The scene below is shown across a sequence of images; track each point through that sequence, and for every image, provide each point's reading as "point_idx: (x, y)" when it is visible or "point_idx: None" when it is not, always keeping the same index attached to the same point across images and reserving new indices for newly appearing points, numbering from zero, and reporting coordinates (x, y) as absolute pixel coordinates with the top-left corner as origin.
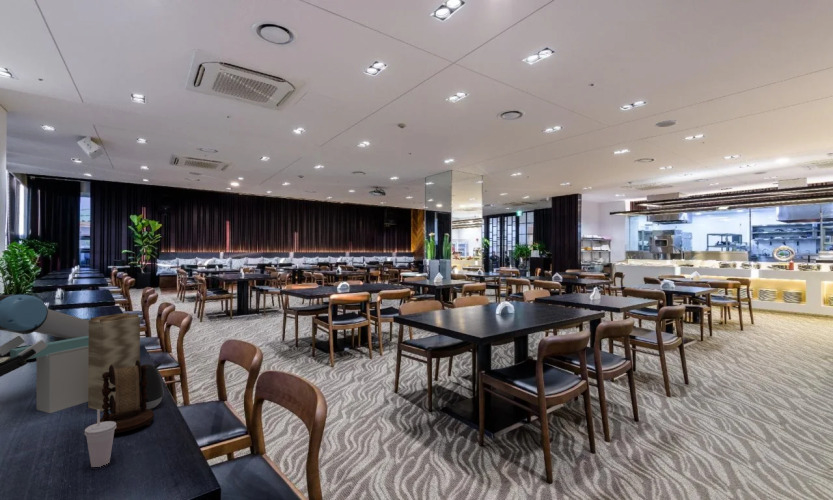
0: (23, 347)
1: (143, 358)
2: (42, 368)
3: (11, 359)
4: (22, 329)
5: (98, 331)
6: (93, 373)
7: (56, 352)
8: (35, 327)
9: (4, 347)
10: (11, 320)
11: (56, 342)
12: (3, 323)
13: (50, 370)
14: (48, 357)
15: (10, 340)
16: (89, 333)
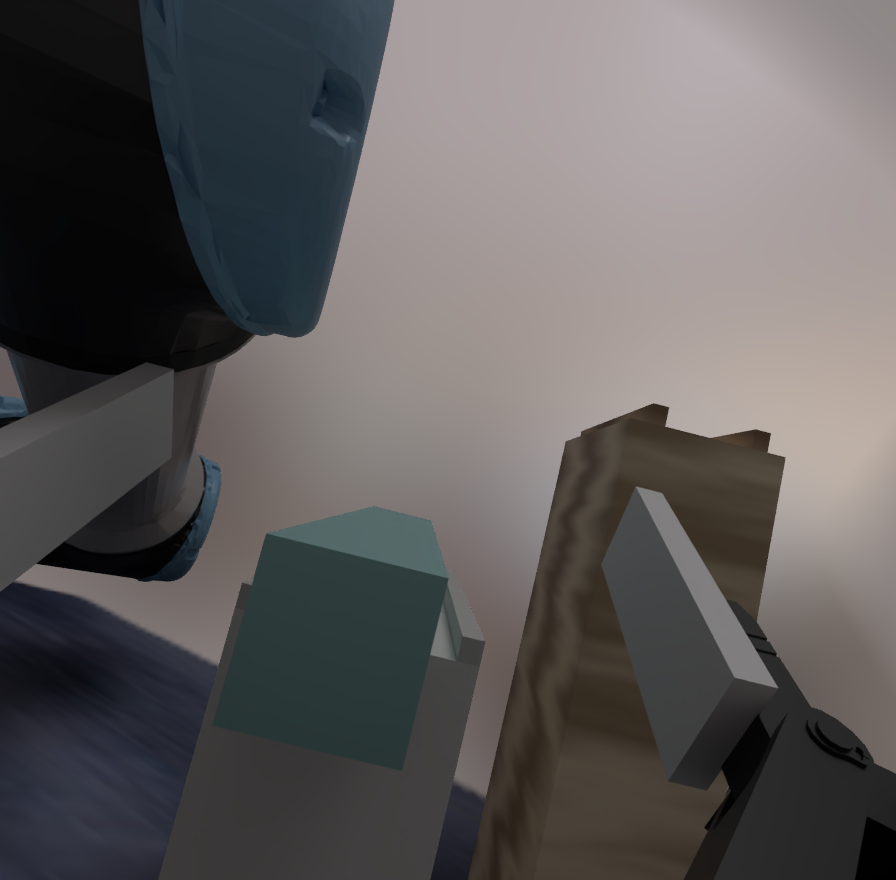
0: (332, 531)
1: (114, 615)
2: (310, 783)
3: (829, 815)
4: (304, 301)
5: (726, 508)
6: (613, 806)
7: (471, 624)
8: (224, 340)
9: (39, 473)
10: (331, 110)
11: (402, 526)
12: (228, 81)
13: (441, 815)
14: (454, 675)
15: (85, 390)
16: (623, 506)
